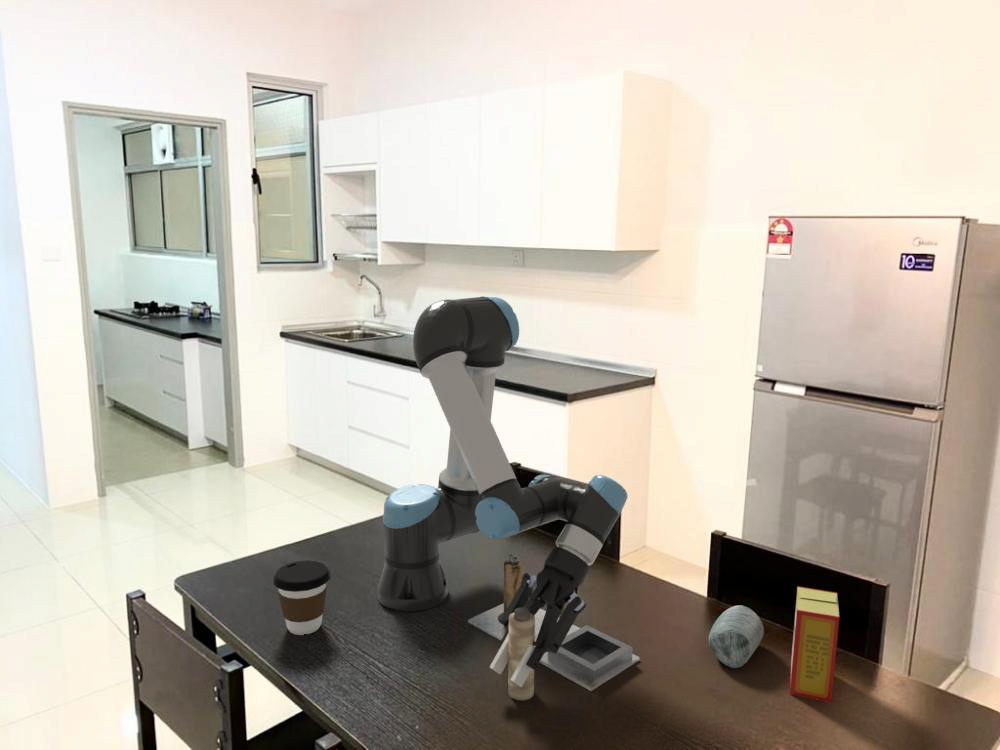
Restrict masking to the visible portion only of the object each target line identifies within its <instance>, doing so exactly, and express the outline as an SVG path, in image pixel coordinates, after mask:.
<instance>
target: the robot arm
mask: <svg viewBox="0 0 1000 750" xmlns="http://www.w3.org/2000/svg"><path fill="white" fill-rule="evenodd" d="M519 324H520V323H519V319H518V316H517V314H516V312H515V311H514V309H513V307H512V306H511V305H510V303H508V302H507V301H506V300H504V299H503V298H500V297H497V296H495V297H494V296H477V297H468V298H459V299H441V300H438V301H436V302H433V303H431V304H430V305H429V306H427V307H426V308H425V309H424V310H423V311H422V312H421V314H420V315H419V317H418V319H417V321H416V324H415V326H414V328H413V335H412V337H413V338H412V347H413V348H412V349H413V354H414V358H415V359H414V360H415V362H416V365H417V368H418V369H419V373H420V374H421V376H422V377H423V378H425V379H428V380H429V382H430V384H431V386H432V389H433V392H434V394H435V396H436V397H437V400H438V403H439V406H440V407H441V410H442V412H443V414H444V416H445V418H446V421H447V423H448V425H449V428H450V429H449V439H448V451H447V452H448V453H447V460H446V461H447V462H446V468H444V469H443V470H441V471H440V472H439V475H438V485H437V487H435V486H433V485H429V484H426V483H425V484H423V483H422V484H419V483H418V484H416V485H414V484H410V485H409V484H408V485H406V486H402V487H399V488H397V489H395V490H393V491H392V492H391V493H389V495H388V496H387V497H386V499H385V501H384V503H383V515H382V521H383V529H384V530H383V533H384V534H383V538H384V540H383V541H384V565H383V569H382V572H381V576H380V580H379V582H378V584H377V600H378V602H379V603H380V605H382V606H384V607H386V608H388V609H390V610H394V611H400V612H419V611H424V610H429V609H432V608H434V607H437V606H438V605H441V604H442V603H443V602H444V601H445V600H447V598H448V595H449V594H448V593H449V591H448V590H449V588H448V580H447V578H446V575H445V572H444V570H443V566H442V564H441V562H440V544H442V543H446V542H449V541H451V540H454V539H457V538H460V537H464V536H468V535H469V534H470V535H471V534H475V533H476V534H477V533H478V532H481V534H482V535H483V536H484V537H485V538H488V539H490V540H493V541H495V540H499V539H504V538H507V537H513V536H515V535H517V534H520V533H523V532H524V531H528V530H530V529H532V528H536V527H540V526H543V525H545V524H549V523H551V522H555V521H557V520H560V521H564V522H566V524H565V525H564V528H562V531H561V532H560V534H559V536H558V537H557V539H556V541H555V544H556V546H554V547H551V550H550V552H549V553H548V556H547V557H546V559H545V561H544V566H543V569H542V570H541V571H540V572H538V573H537V575H530V574H529V573H527V572H524V575H523V577H522V581H521V585H520V587H519V589H518V591H517V592H516V594H515V596H514V598H513V600H512V601H511V603H510V605H509V607H508V609H507V610H506V612H505V614H504V616H503V618H502V620H501V623H502V624H503V625H504V627H505V628H506V632H505V634H504V636H503V638H502V640H501V641H500V640H499V641H500V642H499V643H498V646H497V649H498V650H497V653H496V655H495V656H494V658H493V660H492V662H491V664H489V665H490V666H489V668H490V669H491V670H493V671H494V672H496V674H499V675H501V674H502V673H503V672H504V669H505V668H506V665H507V664H508V663H509V616H510V614H512V613H514V610H515V609H516V608H520V607H523V608H527V609H529V611H530V613H531V614H533V615H535V614H536V613H537V612H538V610H539V609H542V608H544V607H545V606H546V610H545V611H546V613H545V616H544V619H543V622H542V625H541V628H540V631H539V634H538V637H537V639H536V642H534V641H533V644H534V645H535V647H534V646H533V645H531V644H530V645H529V647H528V649H527V650H526V652H525V654H524V656H523V658H522V660H521V661H520V663H519V665H518V667H517V669H516V670H515V672H514V674H513V676H512V678H511V679H510V680H511V681H513V682H514V683H516V684H517V685H518V686H520V687H522V686H523V684H524V682H525V680H526V679H527V677H528V675H529V673H530V671H531V669H534V670H536V669H537V667H538V665H539V664H540V663H539V662H540V660H541V658H542V656H543V655H544V653H546V652H552V653H557V651H558V650H559V648H560V646H561V644H562V642H563V641H564V639H565V637H566V635H567V633H568V632H569V630H570V628H571V626H572V624H573V625H574V623H575V621H576V619H577V618H578V616H579V614H580V613H581V612H582V611H583V610H584V609H585V608H586V607H587V603H586V602H585V601H584V600H583V599H582V598H581V597H580V596H579V595H578V591H579V587H580V586H581V585H583V583H584V581H585V579H586V577H587V575H588V573H589V572H590V571H591V569H590V566H592V565H593V564H594V562H595V560H596V559H597V557H598V555H599V553H600V551H601V549H602V547H603V546H604V543H605V541H606V539H607V537H608V536H609V535H610V532H611V531H612V529H613V528H614V526H615V524H616V522H617V521H618V519H619V517H620V516H621V515H622V511H623V509H624V506H625V504H626V502H627V500H628V492H627V491H626V489H625V488H624V487H623V486H622V485H621V484H620V483H619V482H617V481H616V480H615V479H612V478H611V477H608V476H606V475H602V474H599V475H594V476H593V477H592V478H591V479H590V481H588V484H585V483H584V484H583V483H579V482H575V481H572V480H568V479H565V478H562V477H560V476H557V475H549V474H544V473H543V474H539V475H537V476H535V477H534V479H533V480H531V481H530V482H529V484H528V486H524V487H521V484H520V483H519V481H518V480H517V479H518V478H517V476H516V475H515V472H514V471H513V468H512V465H511V463H510V462H509V459H508V457H507V454H506V453H505V450H504V448H503V446H502V443H501V441H500V439H499V437H498V434H497V432H496V431H495V428H494V424H493V423H492V412H493V402H494V396H495V395H494V391H495V385H496V375H497V371H498V370H499V369H500V368H502V367H503V366H504V365H505V360H506V352H508V351H510V350H512V349H514V346H515V345H517V343H518V340H519V337H520V325H519ZM567 603H568V604H567ZM565 604H567V605H566V607H565ZM564 607H565V608H564ZM558 618H559V620H558ZM557 621H558V622H557Z"/></svg>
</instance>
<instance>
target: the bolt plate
mask: <svg viewBox="0 0 1000 750" xmlns="http://www.w3.org/2000/svg"><path fill="white" fill-rule="evenodd" d="M524 574H525V563H524V561H523V560H521V559H520V555H519V554H518V553H511V554H509V556H508V559H507V560H505V561H504V562H503V603H501V604H499V605H497V606H495V607H493V608H490V609H489V610H486V611H483V612H481V613H479V614H477V615H475V616H473V617H471V618H469V619H468V620H467V623H468V624H469V625H471V626H473V627H475V628H477V629H479V630H481V631H482V632H484V633H485V634H487V635H489V636H491V637H493V638H495V639H496V640H498V641H501V640H502V638H503V636H504V634H505V632H506V628H505V627H504V625H503V624H502V623H501V620H502V618H503V616H504V614H505V612H506V610H507V609H508V607H509V605H510V603H511V601H512V600H513V598H514V596H515V594H516V592H517V591H518V589H519V587H520V585H521V581H522V577H523V575H524ZM545 613H546V610H545V609H542V608H540V609H539V610H538V612H537V613H536V614H535V615H534V616H535V642H536V639H537V637H538V634H539V631H540V628H541V625H542V622H543V619H544V616H545ZM559 618H560V617H559ZM559 618H558V620H559ZM557 622H558V621H557ZM633 650H634V648H633V646H631V645H628V644H627V643H625V642H622V641H620V640H618V639H616V638H614V637H613V636H610V635H608V634H606V633H604V632H602V631H600V630H597V629H596V628H594V627H591V626H590V625H587V624H586V625H584V626H581V627H578V626H577V625H574V623H573V624H572V626H571V628H570V630H569V632H568V633H567V635H566V637H565V639H564V641H563V642H562V644H561V646H560V648H559V650H558V651H557V653H552V652H546V653H544V655H543V656H542V658H541V660H540V662H539V664H541V665H543V666H545V667H547V668H548V669H551V670H552V671H553V672H556V673H557V674H559V675H561V676H563V678H566V679H568V680H570V681H571V682H574V683H575V684H577V685H579V686H580V687H582V688H584V689H585V690H588V691H589V692H592V691H593V690H595V689H597V688H598V687H599V686H601V685H603V684H604V683H606V682H607V681H609V680H611V679H613V678H614V677H616V676H617V675H618V674H621V673H622V672H623V671H625V670H626V669H628V668H630V667H631V666H632V665H634V664H636V663H638V662H639V661H640V656H638V655H636V654H633Z"/></svg>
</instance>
